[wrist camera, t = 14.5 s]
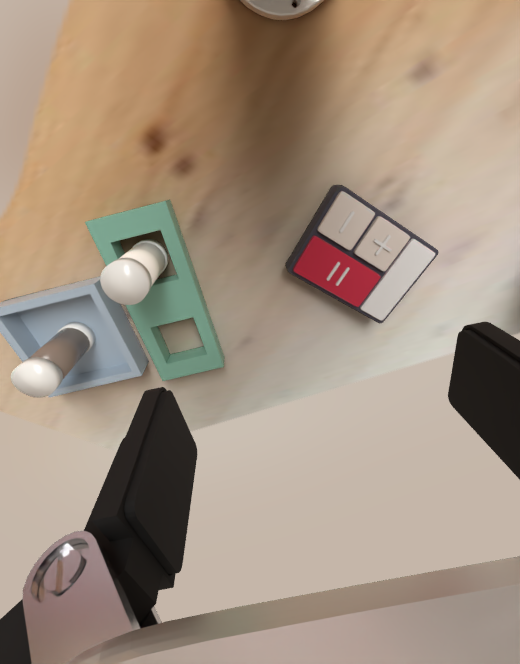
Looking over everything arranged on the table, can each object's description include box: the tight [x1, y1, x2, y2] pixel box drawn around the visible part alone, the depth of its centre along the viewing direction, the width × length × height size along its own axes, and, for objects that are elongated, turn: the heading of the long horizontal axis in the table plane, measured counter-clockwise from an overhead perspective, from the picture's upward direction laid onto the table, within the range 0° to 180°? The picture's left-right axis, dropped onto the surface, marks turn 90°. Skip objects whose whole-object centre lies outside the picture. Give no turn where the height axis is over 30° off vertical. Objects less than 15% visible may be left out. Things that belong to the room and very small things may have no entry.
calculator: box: [286, 185, 438, 323], centre depth 36 cm, size 11×4×15 cm
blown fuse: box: [11, 322, 96, 397], centre depth 35 cm, size 4×4×10 cm
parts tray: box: [0, 276, 149, 397], centre depth 38 cm, size 13×13×4 cm
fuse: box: [100, 239, 169, 305], centre depth 32 cm, size 4×4×10 cm
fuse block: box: [85, 200, 224, 381], centre depth 37 cm, size 22×9×2 cm, turn 13°
